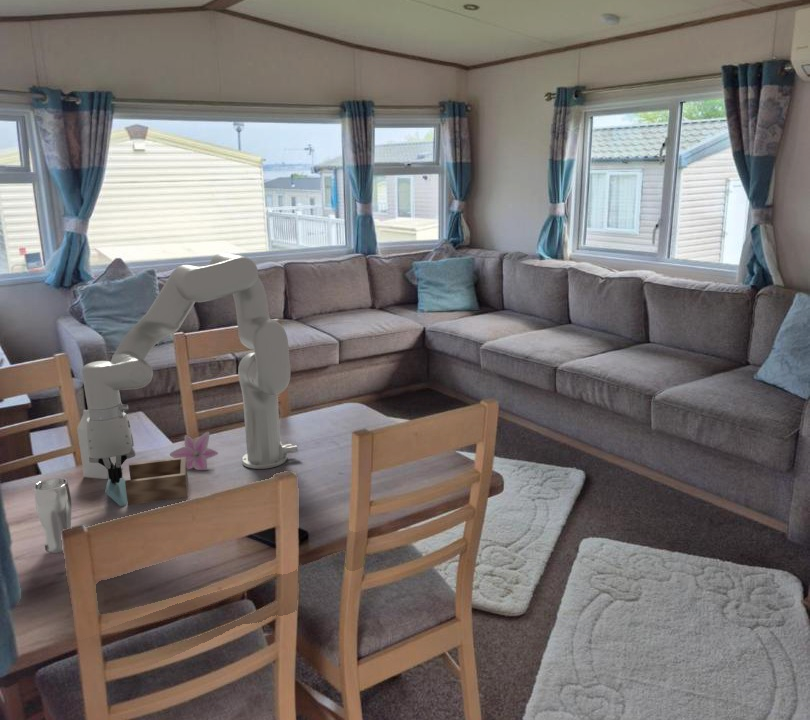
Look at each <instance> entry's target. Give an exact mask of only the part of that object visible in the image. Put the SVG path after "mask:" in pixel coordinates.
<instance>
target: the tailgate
mask: <svg viewBox="0 0 810 720" xmlns="http://www.w3.org/2000/svg"><path fill="white" fill-rule="evenodd" d="M125 480H126V479H125V478H124V477H122V478H120V482H119V483H114V484H113V483H112V479H110V480H109V478H108V479H107V483H106V487H105V491H104V493H105V494H106V496H107V495H108V497H109V498H110V499H112V500H113V501H114V502H115V503H116V504H117V505H118V506H119V507H123V506H125V507H126V506H128V502H127V494H126V486H125Z"/></svg>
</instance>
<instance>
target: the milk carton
mask: <svg viewBox="0 0 810 720" xmlns="http://www.w3.org/2000/svg"><path fill="white" fill-rule="evenodd" d="M82 412H83V414H82V416H81V419H80V421H79V422H78V426H77V427H76V430H77V431H76V432H77V437H78V443H79V444H78V445H79V451H80V457H81V465H82V472H83V477H84V478H91V479H103V480H108V478H109V475H108V469H106V467H105V466H103V465H101V464H100V463H90V462H89V453H88V445H87V430H86V426H87V418H89V413H88V409H83V411H82ZM110 459H111V461H112V463H113V464H114V465H115V463H116V456H115V457H110ZM123 468H124V467H123V464H122V465H121V469H122V470H123Z"/></svg>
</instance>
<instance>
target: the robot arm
mask: <svg viewBox="0 0 810 720" xmlns="http://www.w3.org/2000/svg"><path fill="white" fill-rule="evenodd" d="M231 295H232V296H233V300H234V306H235V311H236V323H237V324H236V325H237V334H238V339H239V342H240V343H241V344H242V345H243V346H244V347H246V348H247V349H249V350H251V351H254V352H249V353H246V355H244V356H243V357H242V359H240V361H239V364H238V367H237V370H238V371H237V373H238V374H237V376H238V381H239V385H240V389H241V395H242V402H243V404H242V405H243V417H244V431H245V441H246V443H245V444H246V453H245V454H244V455H242V457H241V463H242V465H243V466H245V467H247V468H250V469H254V470H255V469H256V470H257V469H258V470H263V469H264V470H265V469H272V468H274V467H275V468H276V467H279V466H281V465H283V464H285V462H286V461H287V458H288V455H287V454H289V453H291V454H293V453H299V451H298V446H297V445H292V443H288V444H285V443H282V441H281V430H280V417H279V416H280V413H279V400H278V399H279V397H278V395H280V394H281V393H283V392H284V391H285V390H286V389H287V387H288V386H289V383H290V379H291V361H290V360H291V359H290V349H289V340H288V339H289V338H288V335H287V332H286V330H285V328H284V326H283V325H282V324H281V323H279V322H278V321H277V320H275V319H272V318H271V317H270V313H269V304H268V299H267V297H268V296H267V293H266V289H265V286H264V283H263V282H262V280H261V279H260V277H259V271H258V267H257V264H256V263H255V262H254V260H252V259H251V258H249V257H247V256H244V255H239V254H234V253H229V252H220V253H217V254H215V255H214V256H213V257H212V258H211V260H210V262H209V265H205V266H196V265H191V264H181V265H179V266H177V267H176V268H175V269H173V271H172V272H171V273H170V275H169V276H168V278H167V280H166V281H165V282H164V285H163V286H162V287H161V290H160V291H159V293H158V294H157V296H156V298H155V300H154V301H153V302H152V304H151V306H150V307H149V309H148V311H147V312H146V313H145V314H144V315H143V316H142V317H141V318H140V319H139V321H137V322H136V323H135V324H134V325H133V326H132V327H131V328H130V330H129V331H128V332H127V333H126V334H125V336H124V337H123V338H122V340H121V341H120V343H119V345H118V347H117V348H116V350H115V352H114V353H113V355H112V356H111V360H110V361H109V360H97V361H91V362H89V363H85V364H84V366H82V369H81V375H82V381H83V388H84V394H85V399H86V405H87V410H88V413H89V418H87V426H86V430H87V445H88V453H89V462H90V463H100V464H101V465H103V466H105V467H106V469H108V475H109V480H110V479H112V483H113V484H114V483H119V482H120V478H123V472H122V471H123V469H121V465H122V466H123V464H124V463H125V462H126V461H127V460H129V459H131V458H134V457H136V450H135V447H134V446H135V445H134V438H133V433H132V429H131V425H130V421H129V418H128V417H129V416H128V415H127V412H126V411H128V410H129V405H128V404H123V403H122V401H121V394H120V391H124V390H126V391H127V390H137V389H138V390H139V389H142V388H144V387H146V386H148V385H149V384H150V382H152V381H153V380H152V379H153V376H154V371H153V368H152V366H151V365H150V363H149V362H147V361H146V358H147V356H148V355H149V354H150V352H151V350H152V349H153V348H154V347H155V345H156V344H158V343H159V342H160V341H161V340H163V339H165V338H166V337H169V336H171V335H173V334H175V333H176V332H178V331H179V330H180V328H181V326H182V325H183V324H184V321H185V320H186V318H187V317H188V315H189V313H190V312H191V310H192V308H193V306H194V305H195V303H203V302H211V301H214V300H217V299H220V298H224V297H226V296H227V297H228V296H231ZM115 456H116V463H115V465H114V464H113V463H112V461H111V459H110V457H115Z"/></svg>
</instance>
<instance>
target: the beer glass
mask: <svg viewBox="0 0 810 720" xmlns="http://www.w3.org/2000/svg"><path fill="white" fill-rule="evenodd" d="M33 491H34V493H33V494H34V505H35V509H36V512H37V513H36V514H37V517H38V518H39V521H40V523H41V527H42V529H43V532H44V536H45V543H44V550H45V551H46V553H49V554H50V553H51V554H59V553H63V550H62V540H61V531H62V530H63V529H67V528H70V527H71V528H72V514H73V503H72V496H71V490H70V486H69V483H68V479H66V478H65V477H50V478H45V479H42V480H40V481H38V482H37V483H35V484H34V486H33Z"/></svg>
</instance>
